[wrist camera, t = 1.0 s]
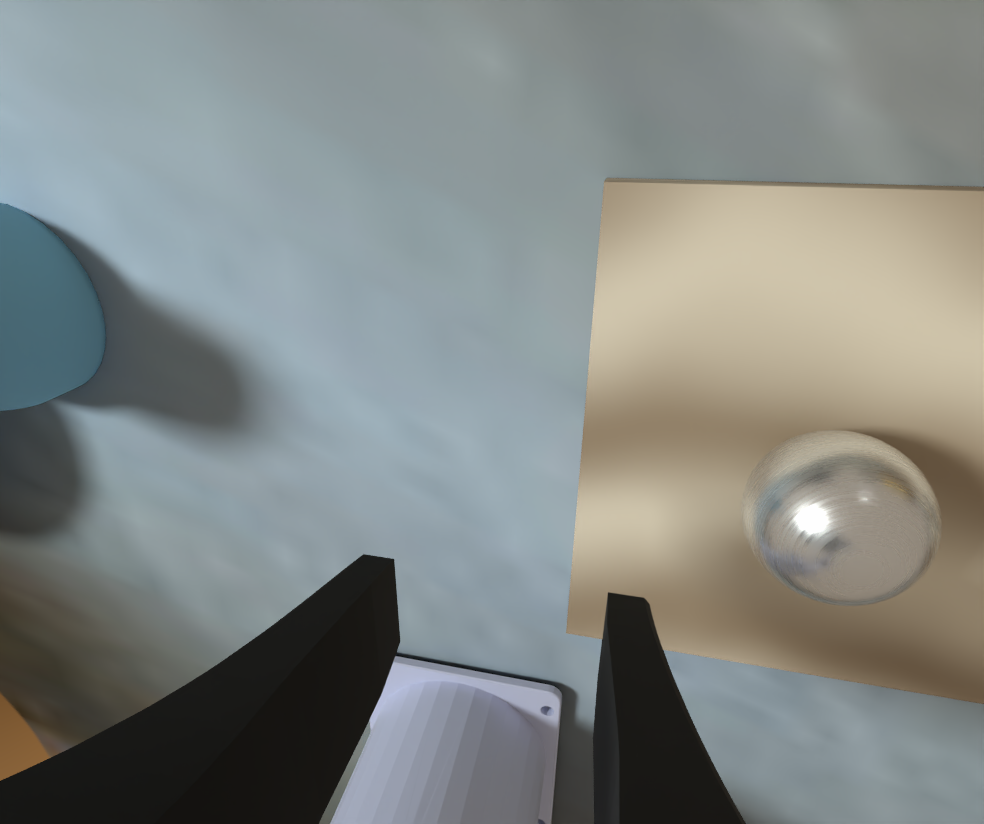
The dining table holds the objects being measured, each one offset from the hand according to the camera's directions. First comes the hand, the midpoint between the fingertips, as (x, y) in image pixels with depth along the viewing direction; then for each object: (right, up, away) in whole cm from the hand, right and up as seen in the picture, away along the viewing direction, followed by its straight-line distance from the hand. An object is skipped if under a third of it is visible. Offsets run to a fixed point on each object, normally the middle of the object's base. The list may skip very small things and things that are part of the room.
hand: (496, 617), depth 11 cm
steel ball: (+8, +1, +3) cm, 9 cm away
